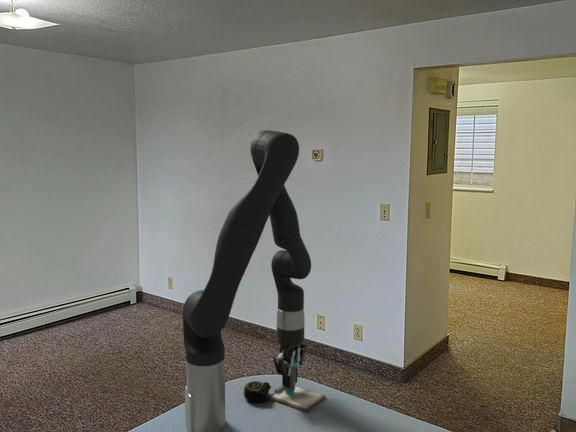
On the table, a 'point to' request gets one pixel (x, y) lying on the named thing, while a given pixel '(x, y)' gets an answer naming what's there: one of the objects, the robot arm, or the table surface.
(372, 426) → the table surface
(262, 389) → the tape measure
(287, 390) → the marker
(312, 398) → the clipboard
